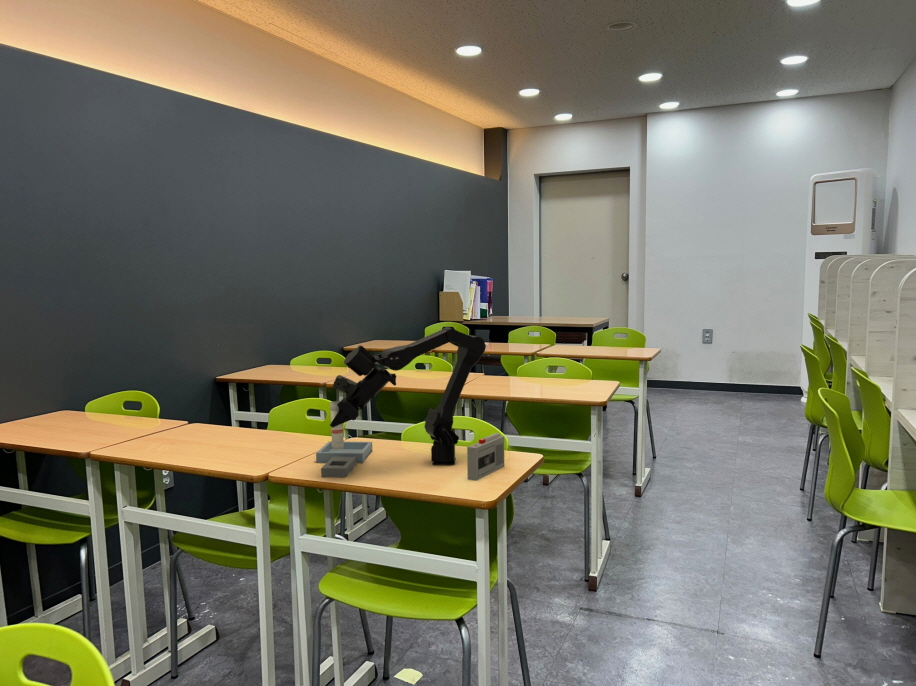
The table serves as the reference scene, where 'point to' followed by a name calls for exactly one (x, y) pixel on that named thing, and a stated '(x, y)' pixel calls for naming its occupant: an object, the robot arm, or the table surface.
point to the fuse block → (338, 467)
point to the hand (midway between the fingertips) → (332, 425)
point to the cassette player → (485, 457)
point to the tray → (345, 451)
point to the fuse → (336, 428)
